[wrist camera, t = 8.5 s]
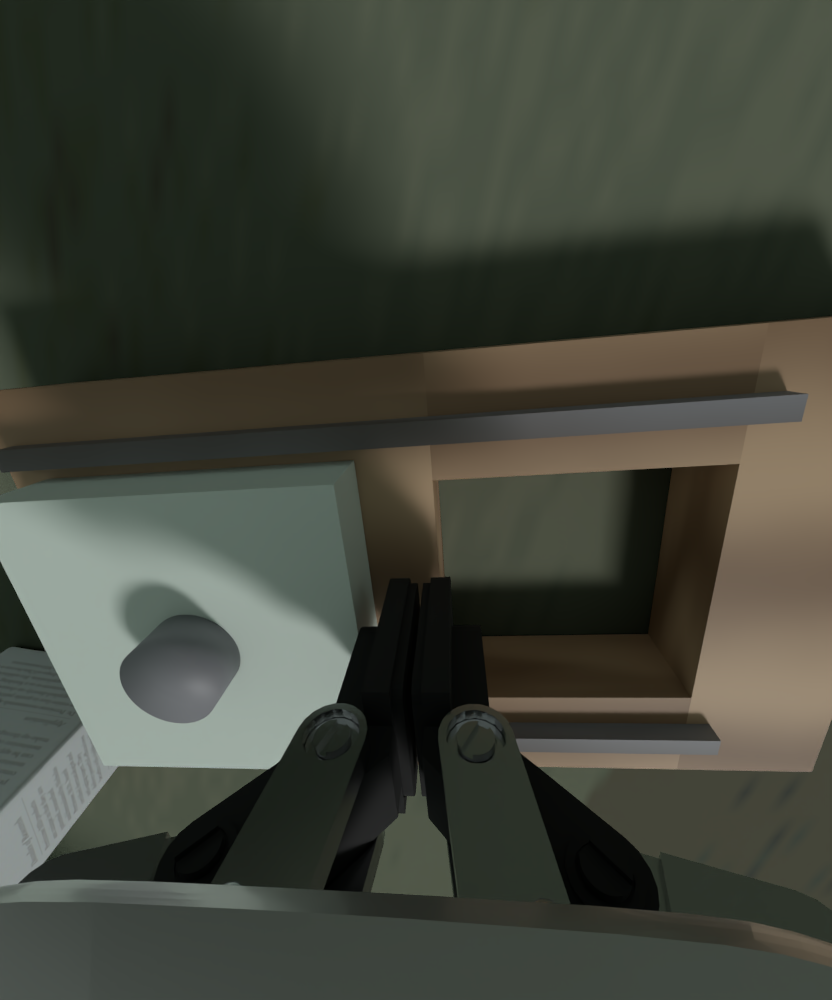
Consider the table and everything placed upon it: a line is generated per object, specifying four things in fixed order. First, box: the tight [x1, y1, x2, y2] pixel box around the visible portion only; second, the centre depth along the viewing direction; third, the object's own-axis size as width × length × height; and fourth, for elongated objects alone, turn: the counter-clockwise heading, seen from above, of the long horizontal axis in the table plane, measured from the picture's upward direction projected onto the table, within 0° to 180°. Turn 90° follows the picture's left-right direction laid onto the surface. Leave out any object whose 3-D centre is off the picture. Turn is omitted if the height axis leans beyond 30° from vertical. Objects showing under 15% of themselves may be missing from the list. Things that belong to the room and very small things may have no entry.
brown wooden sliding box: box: [0, 316, 832, 772], centre depth 13 cm, size 14×24×4 cm, turn 95°
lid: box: [0, 460, 377, 769], centre depth 11 cm, size 9×9×3 cm
